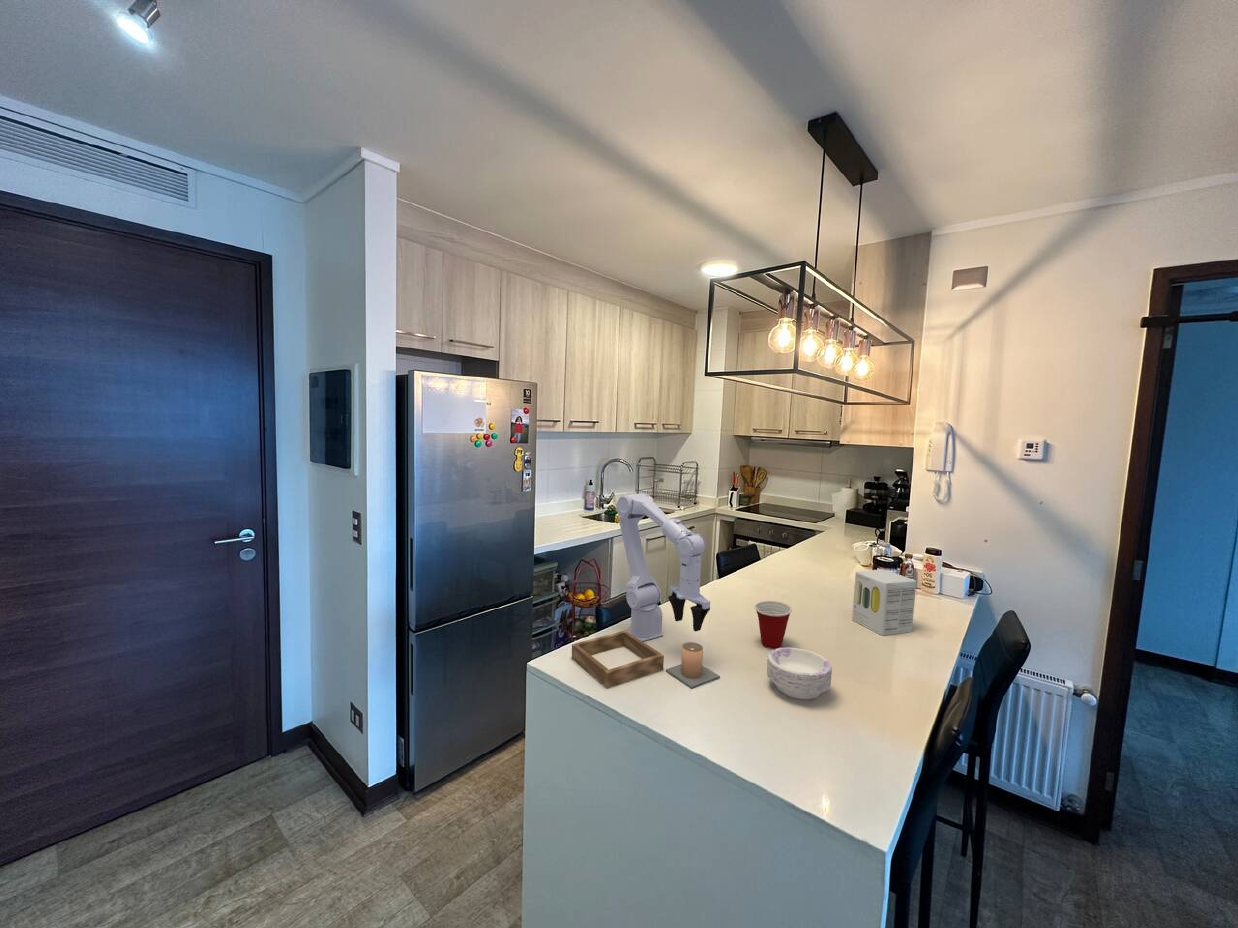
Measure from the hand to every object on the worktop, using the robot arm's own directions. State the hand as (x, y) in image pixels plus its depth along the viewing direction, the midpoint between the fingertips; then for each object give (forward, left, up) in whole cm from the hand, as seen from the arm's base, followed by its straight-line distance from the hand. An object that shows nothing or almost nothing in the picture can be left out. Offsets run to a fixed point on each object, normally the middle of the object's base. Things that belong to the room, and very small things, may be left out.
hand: (687, 625), depth 137 cm
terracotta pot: (+5, +8, -9) cm, 13 cm away
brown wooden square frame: (+19, -7, -9) cm, 22 cm away
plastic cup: (-28, +7, -10) cm, 30 cm away
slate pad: (+5, +8, -9) cm, 13 cm away
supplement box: (-73, +17, -10) cm, 76 cm away
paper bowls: (-13, +27, -10) cm, 31 cm away
